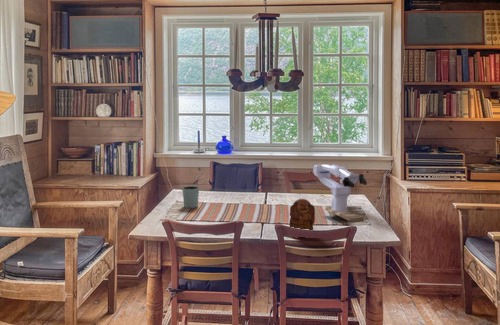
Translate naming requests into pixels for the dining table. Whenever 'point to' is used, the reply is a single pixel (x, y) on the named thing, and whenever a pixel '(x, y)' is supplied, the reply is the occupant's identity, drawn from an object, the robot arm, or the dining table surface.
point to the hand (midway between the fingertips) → (359, 184)
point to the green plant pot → (190, 196)
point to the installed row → (352, 216)
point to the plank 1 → (329, 210)
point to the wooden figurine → (302, 214)
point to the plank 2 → (341, 215)
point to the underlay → (337, 219)
